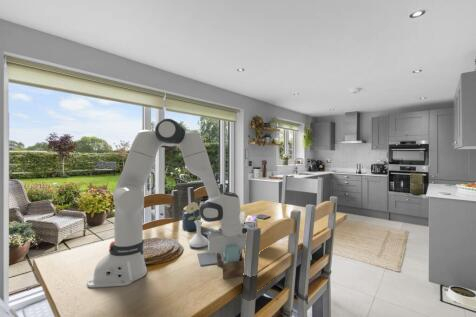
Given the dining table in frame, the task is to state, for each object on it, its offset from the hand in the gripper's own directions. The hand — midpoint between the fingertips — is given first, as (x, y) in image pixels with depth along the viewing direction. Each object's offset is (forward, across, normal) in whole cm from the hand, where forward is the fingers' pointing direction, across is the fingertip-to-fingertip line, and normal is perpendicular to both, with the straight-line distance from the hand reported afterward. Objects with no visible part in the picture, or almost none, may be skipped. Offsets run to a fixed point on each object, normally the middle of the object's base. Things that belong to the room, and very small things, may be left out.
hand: (230, 259), depth 107 cm
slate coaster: (+5, -8, +14) cm, 17 cm away
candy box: (+5, +17, +21) cm, 27 cm away
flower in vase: (+5, -11, +33) cm, 35 cm away
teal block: (+5, 0, 0) cm, 5 cm away
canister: (+5, -11, +66) cm, 67 cm away
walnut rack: (+5, +1, 0) cm, 5 cm away
